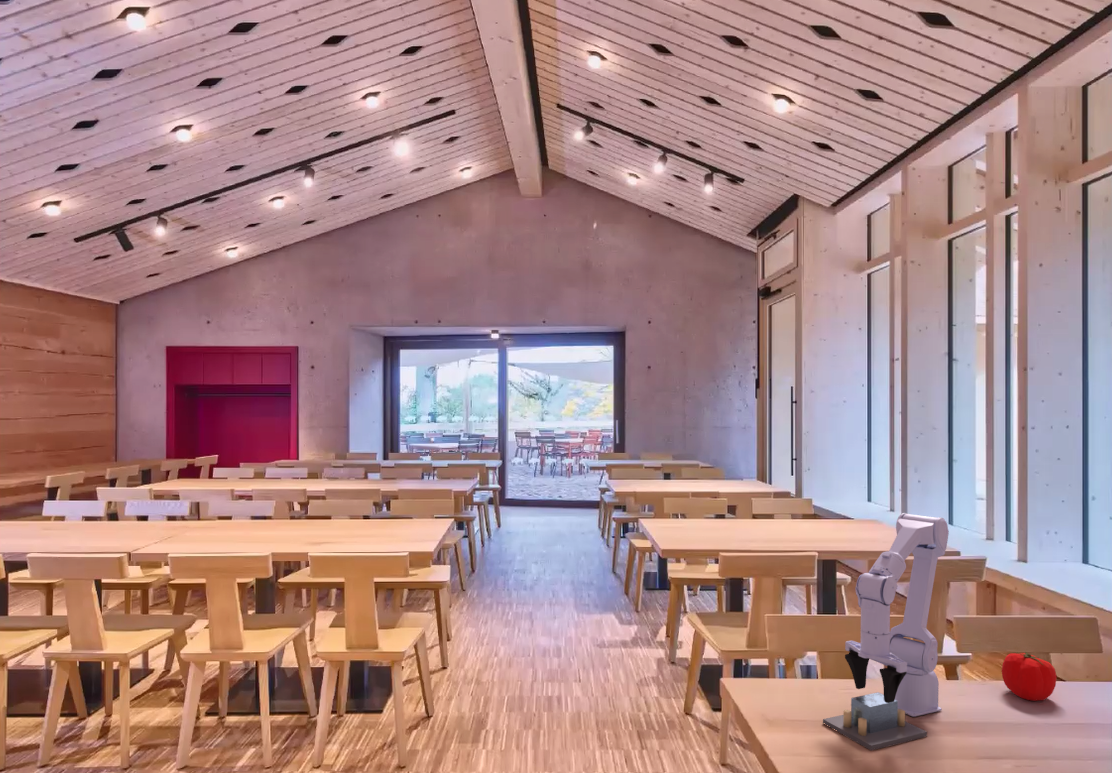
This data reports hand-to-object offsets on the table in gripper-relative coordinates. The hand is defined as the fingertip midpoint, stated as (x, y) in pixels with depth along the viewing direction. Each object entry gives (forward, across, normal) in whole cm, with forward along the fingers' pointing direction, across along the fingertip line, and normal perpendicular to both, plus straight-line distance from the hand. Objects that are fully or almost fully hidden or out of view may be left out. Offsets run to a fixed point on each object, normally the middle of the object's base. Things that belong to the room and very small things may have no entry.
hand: (874, 694), depth 156 cm
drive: (+6, 0, 0) cm, 7 cm away
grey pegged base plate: (+8, 0, 0) cm, 8 cm away
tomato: (+8, +1, +50) cm, 51 cm away
